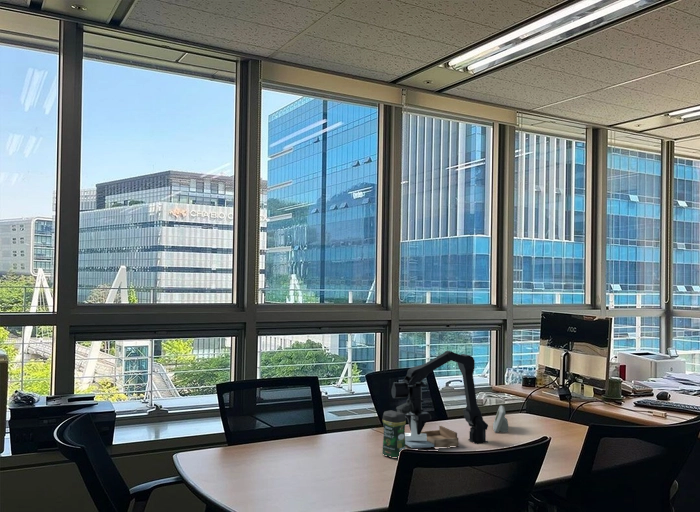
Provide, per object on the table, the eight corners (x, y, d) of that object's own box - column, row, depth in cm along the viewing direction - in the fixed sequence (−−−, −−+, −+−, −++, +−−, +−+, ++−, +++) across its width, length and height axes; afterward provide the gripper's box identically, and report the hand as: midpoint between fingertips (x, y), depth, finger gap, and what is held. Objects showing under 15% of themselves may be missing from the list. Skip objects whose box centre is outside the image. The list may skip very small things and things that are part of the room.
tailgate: (418, 436, 280) (396, 436, 276) (434, 444, 266) (411, 445, 262) (418, 439, 280) (396, 439, 276) (434, 447, 266) (411, 448, 262)
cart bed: (440, 438, 285) (440, 425, 285) (458, 447, 270) (458, 433, 270) (418, 440, 281) (418, 427, 281) (435, 449, 266) (435, 435, 266)
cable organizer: (404, 437, 274) (404, 414, 275) (426, 437, 273) (426, 415, 274) (403, 440, 269) (403, 417, 269) (426, 440, 268) (426, 417, 269)
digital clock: (493, 425, 312) (493, 404, 312) (511, 427, 308) (511, 405, 309) (487, 432, 297) (487, 410, 297) (506, 434, 293) (506, 412, 294)
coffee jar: (379, 455, 257) (379, 410, 257) (392, 452, 262) (393, 408, 262) (395, 460, 249) (395, 414, 250) (409, 457, 254) (409, 411, 255)
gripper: (389, 394, 278) (389, 429, 277) (408, 402, 260) (408, 439, 260) (411, 393, 282) (411, 427, 281) (431, 400, 265) (431, 437, 264)
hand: (415, 432), depth 271 cm, fingers closed on cable organizer, 6 cm apart
